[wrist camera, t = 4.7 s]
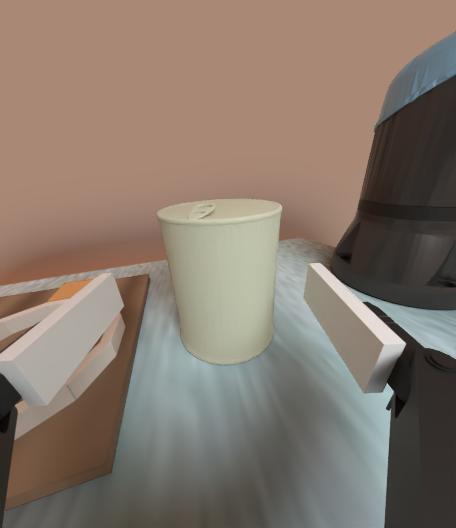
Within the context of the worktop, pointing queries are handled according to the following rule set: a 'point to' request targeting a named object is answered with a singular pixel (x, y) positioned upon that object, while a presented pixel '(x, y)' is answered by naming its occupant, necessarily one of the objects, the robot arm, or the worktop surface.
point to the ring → (81, 375)
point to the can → (223, 275)
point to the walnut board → (76, 410)
